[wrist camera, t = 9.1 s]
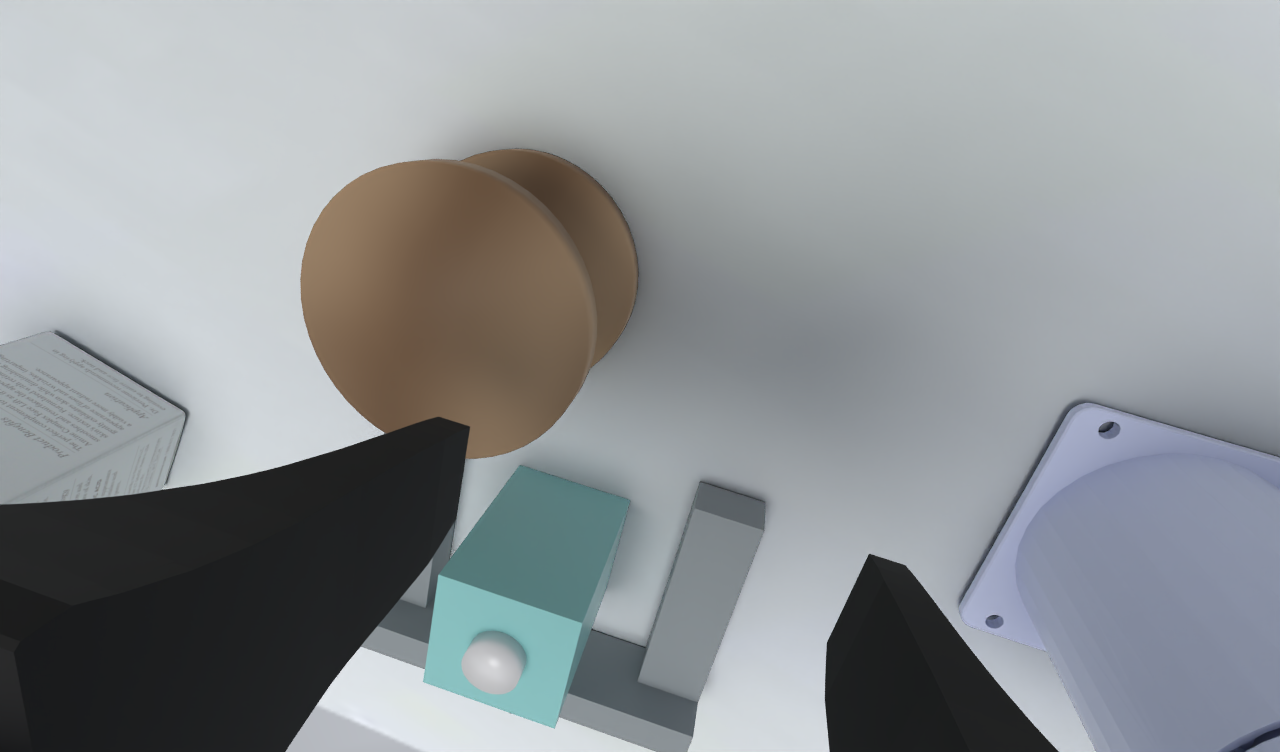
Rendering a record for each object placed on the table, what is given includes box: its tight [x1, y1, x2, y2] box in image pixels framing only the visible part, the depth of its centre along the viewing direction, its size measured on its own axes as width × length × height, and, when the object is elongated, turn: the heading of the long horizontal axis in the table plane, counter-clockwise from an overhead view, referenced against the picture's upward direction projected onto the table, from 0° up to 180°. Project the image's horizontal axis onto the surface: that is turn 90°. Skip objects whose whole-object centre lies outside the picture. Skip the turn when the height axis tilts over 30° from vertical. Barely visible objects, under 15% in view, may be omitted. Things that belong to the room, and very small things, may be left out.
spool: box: [300, 149, 638, 459], centre depth 18 cm, size 7×7×6 cm
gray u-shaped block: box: [361, 432, 765, 752], centre depth 23 cm, size 12×9×3 cm
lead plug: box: [423, 465, 630, 729], centre depth 21 cm, size 4×4×7 cm
